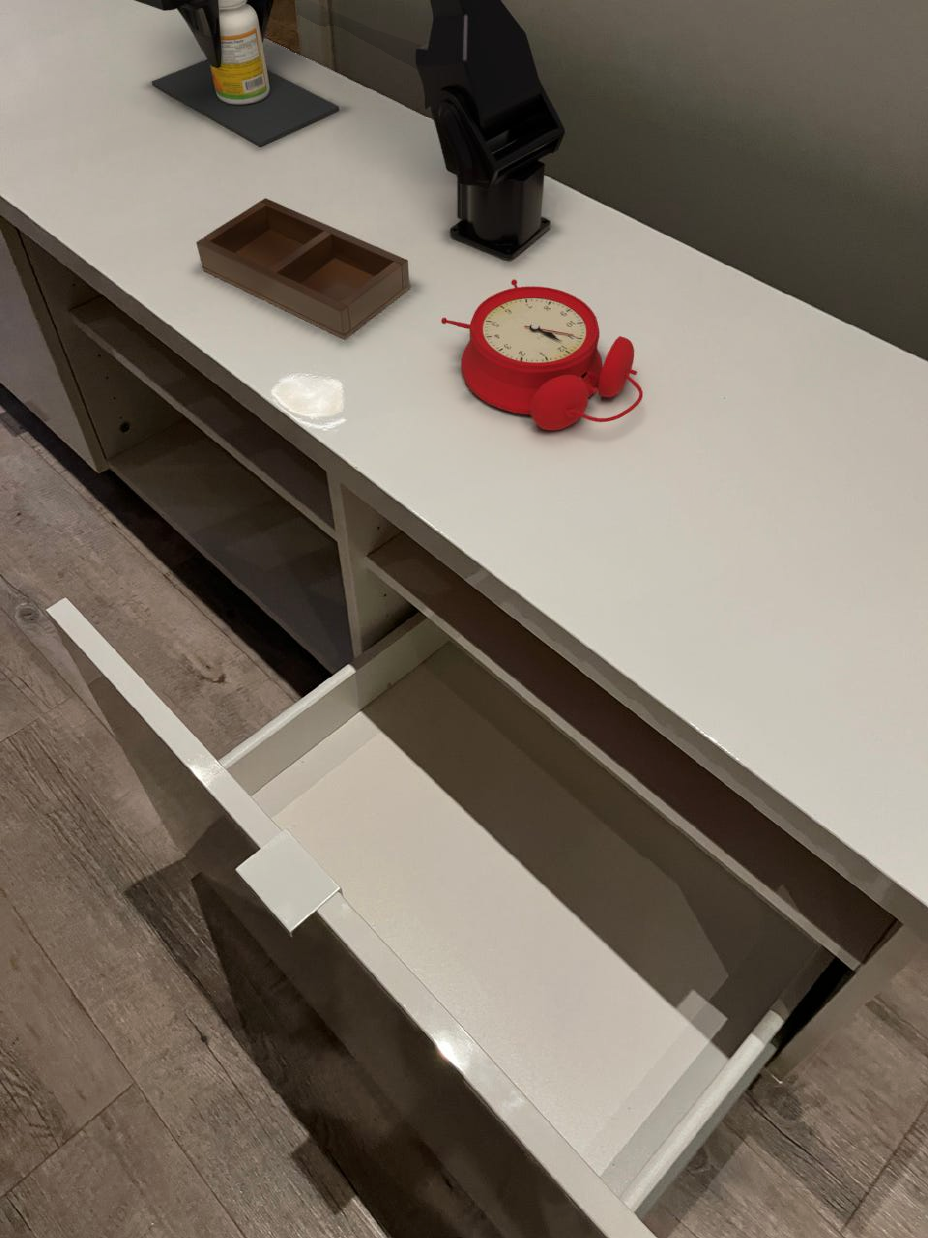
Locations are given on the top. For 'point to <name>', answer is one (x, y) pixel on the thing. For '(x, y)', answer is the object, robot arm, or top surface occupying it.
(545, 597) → the top surface
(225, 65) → the supplement bottle
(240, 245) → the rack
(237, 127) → the mat
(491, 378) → the alarm clock
